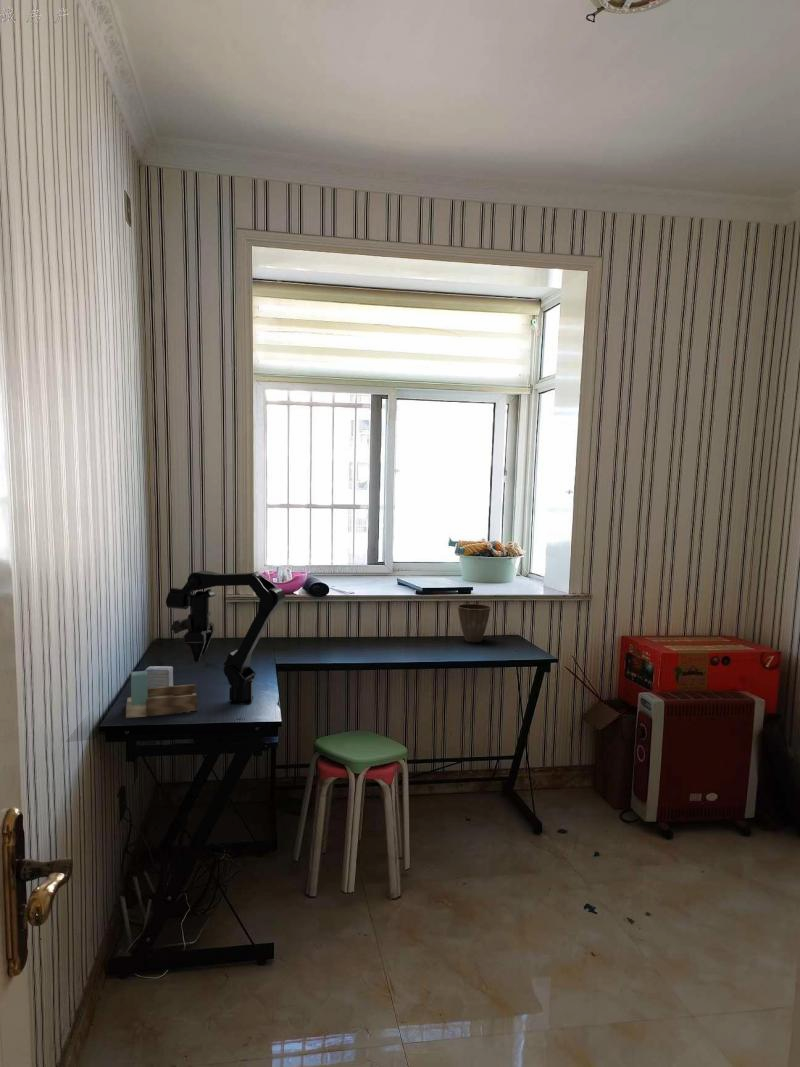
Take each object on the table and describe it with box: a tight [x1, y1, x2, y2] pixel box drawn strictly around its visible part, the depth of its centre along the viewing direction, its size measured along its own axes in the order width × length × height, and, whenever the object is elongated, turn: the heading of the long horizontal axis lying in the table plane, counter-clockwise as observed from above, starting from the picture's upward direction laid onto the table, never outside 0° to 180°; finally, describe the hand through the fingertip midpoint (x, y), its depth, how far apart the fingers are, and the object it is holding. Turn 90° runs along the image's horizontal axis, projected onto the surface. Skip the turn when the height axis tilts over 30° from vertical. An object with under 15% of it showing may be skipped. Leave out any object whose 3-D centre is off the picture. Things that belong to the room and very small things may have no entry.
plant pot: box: [457, 603, 491, 643], centre depth 303 cm, size 15×15×16 cm
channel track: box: [125, 683, 198, 719], centre depth 201 cm, size 20×12×5 cm, turn 110°
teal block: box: [130, 670, 147, 705], centre depth 199 cm, size 4×4×9 cm
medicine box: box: [144, 665, 174, 688], centre depth 216 cm, size 8×4×9 cm, turn 92°
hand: (199, 658), depth 212 cm, fingers open, 9 cm apart
